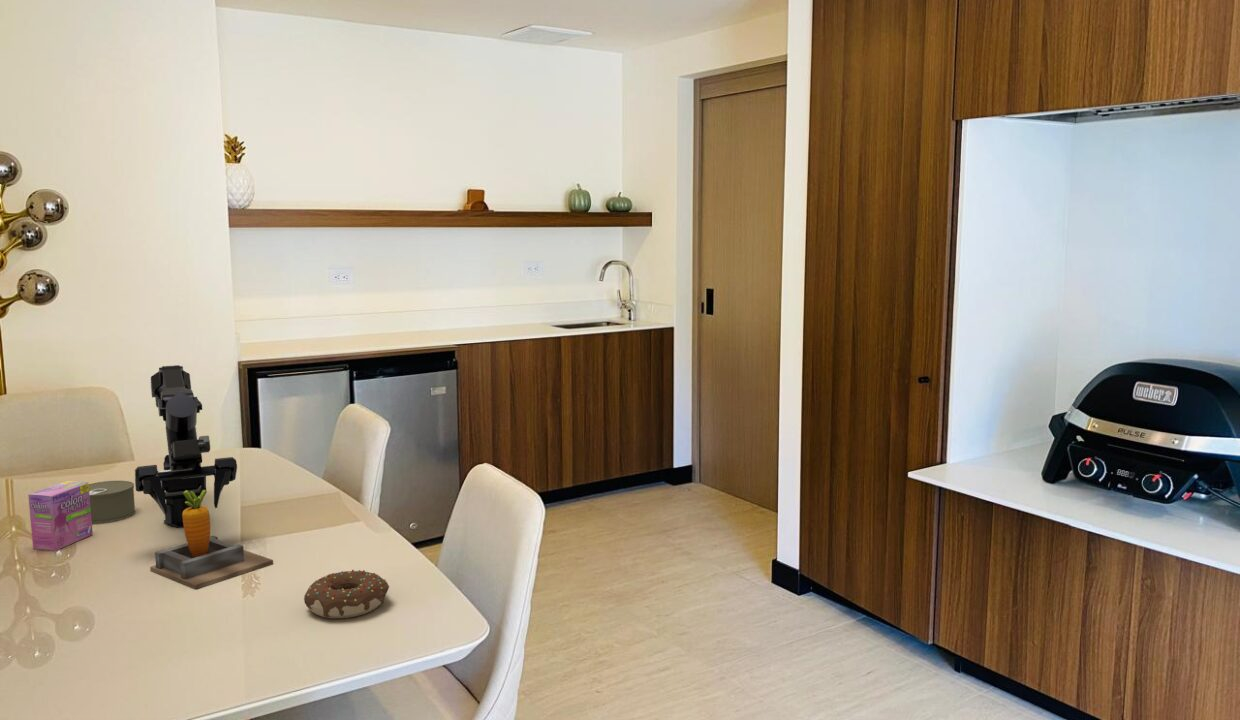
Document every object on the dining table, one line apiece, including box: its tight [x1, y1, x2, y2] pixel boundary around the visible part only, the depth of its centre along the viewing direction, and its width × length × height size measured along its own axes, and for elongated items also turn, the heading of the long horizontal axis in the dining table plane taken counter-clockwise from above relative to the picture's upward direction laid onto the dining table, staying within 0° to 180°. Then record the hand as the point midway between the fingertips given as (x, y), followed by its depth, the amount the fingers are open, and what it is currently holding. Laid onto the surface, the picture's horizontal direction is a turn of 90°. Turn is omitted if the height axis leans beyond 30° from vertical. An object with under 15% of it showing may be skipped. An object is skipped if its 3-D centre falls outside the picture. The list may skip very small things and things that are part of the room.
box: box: [27, 480, 94, 552], centre depth 196 cm, size 10×6×12 cm, turn 168°
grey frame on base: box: [149, 535, 274, 590], centre depth 182 cm, size 16×16×4 cm
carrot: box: [182, 489, 211, 558], centre depth 180 cm, size 5×5×15 cm
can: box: [89, 480, 136, 525], centre depth 214 cm, size 12×12×7 cm
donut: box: [303, 569, 390, 619], centre depth 163 cm, size 14×14×5 cm
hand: (191, 510), depth 187 cm, fingers open, 9 cm apart
